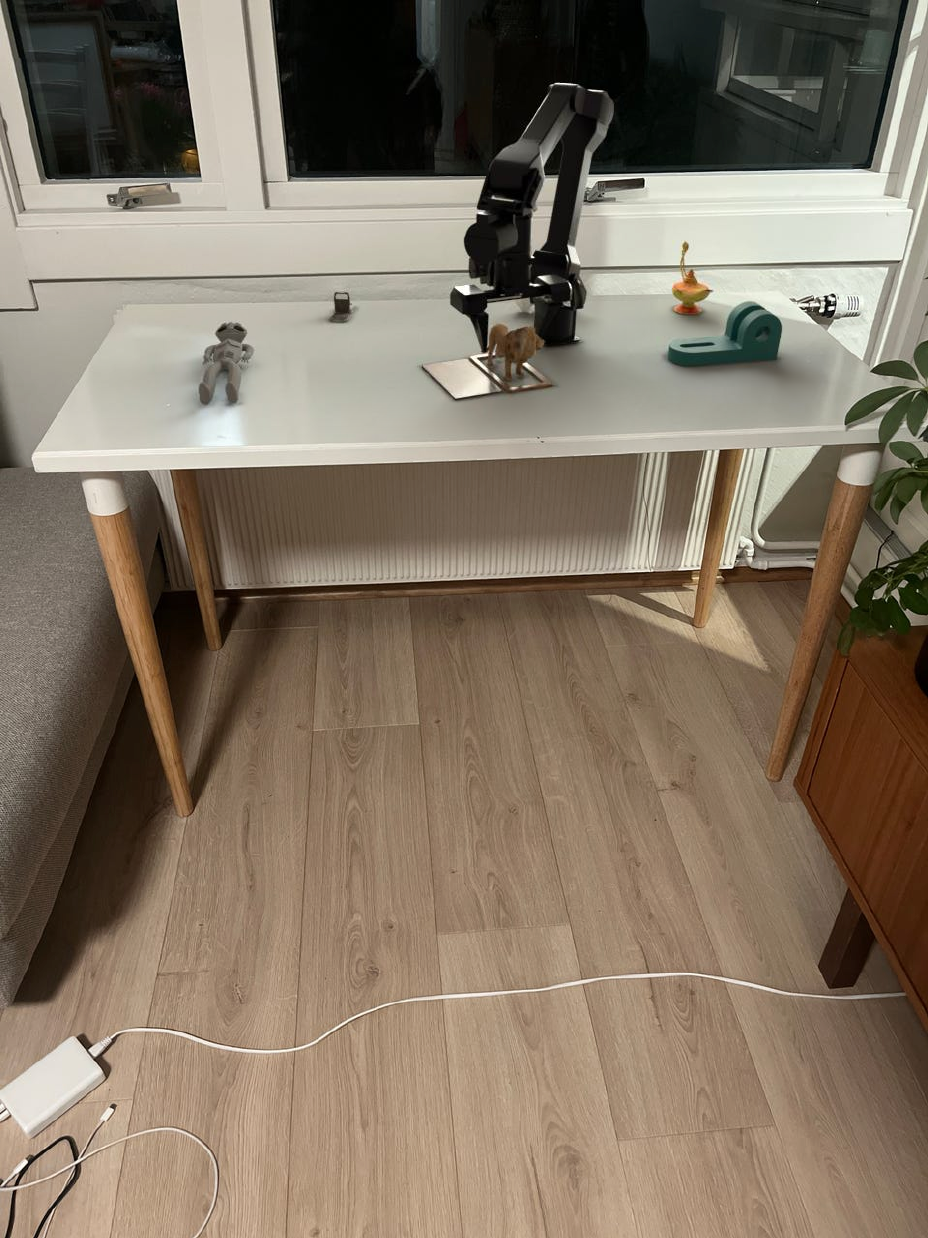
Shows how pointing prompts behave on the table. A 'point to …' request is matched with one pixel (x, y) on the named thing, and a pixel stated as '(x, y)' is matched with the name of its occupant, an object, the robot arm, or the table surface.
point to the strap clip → (342, 308)
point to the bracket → (733, 339)
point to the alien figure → (225, 361)
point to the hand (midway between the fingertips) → (509, 347)
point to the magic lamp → (689, 289)
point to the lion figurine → (513, 347)
